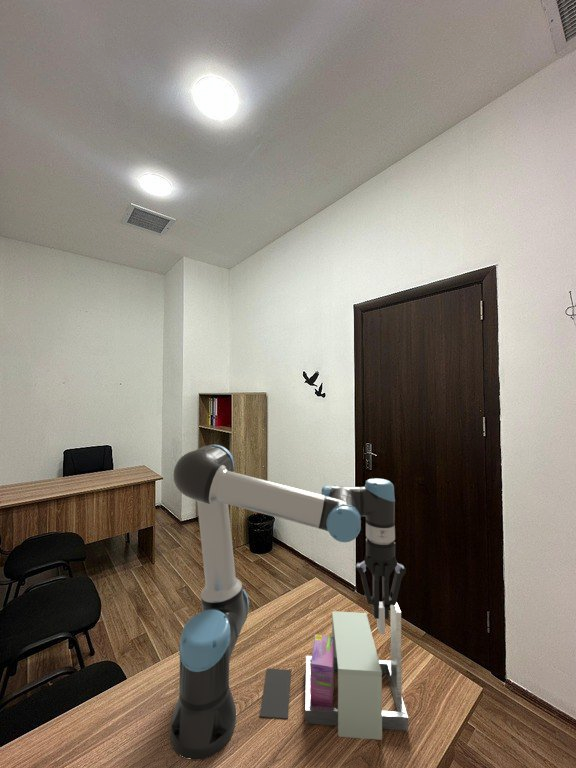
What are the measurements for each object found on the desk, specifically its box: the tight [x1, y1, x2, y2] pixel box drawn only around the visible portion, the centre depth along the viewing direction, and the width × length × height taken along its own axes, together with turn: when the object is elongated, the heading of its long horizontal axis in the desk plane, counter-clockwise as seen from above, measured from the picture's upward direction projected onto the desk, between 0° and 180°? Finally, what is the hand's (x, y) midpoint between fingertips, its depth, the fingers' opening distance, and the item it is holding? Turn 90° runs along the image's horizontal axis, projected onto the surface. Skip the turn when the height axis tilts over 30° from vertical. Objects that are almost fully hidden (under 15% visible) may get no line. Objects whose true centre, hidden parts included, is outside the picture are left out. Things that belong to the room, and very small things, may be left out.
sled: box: [304, 602, 409, 732], centre depth 85 cm, size 24×16×24 cm
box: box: [310, 634, 335, 707], centre depth 85 cm, size 10×6×12 cm, turn 170°
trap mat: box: [259, 667, 292, 720], centre depth 86 cm, size 7×14×1 cm, turn 176°
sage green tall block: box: [331, 610, 383, 741], centre depth 85 cm, size 10×20×15 cm, turn 176°
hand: (381, 630), depth 85 cm, fingers closed
